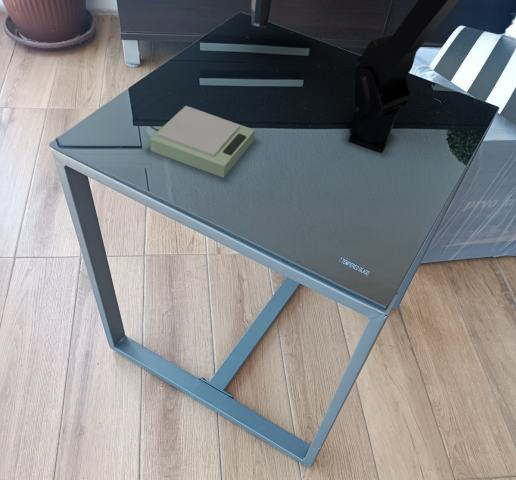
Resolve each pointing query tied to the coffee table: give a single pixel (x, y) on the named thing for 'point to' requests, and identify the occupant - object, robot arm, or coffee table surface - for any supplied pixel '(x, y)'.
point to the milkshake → (260, 12)
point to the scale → (202, 141)
